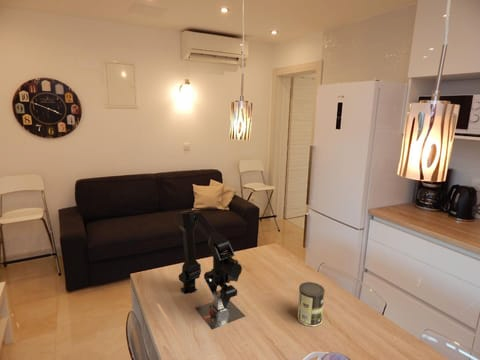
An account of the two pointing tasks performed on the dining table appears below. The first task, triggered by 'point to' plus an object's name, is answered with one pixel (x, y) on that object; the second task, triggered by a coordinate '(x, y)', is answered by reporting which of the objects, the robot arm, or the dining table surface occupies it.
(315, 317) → the coffee can
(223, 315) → the stand base
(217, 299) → the post
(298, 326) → the dining table surface
